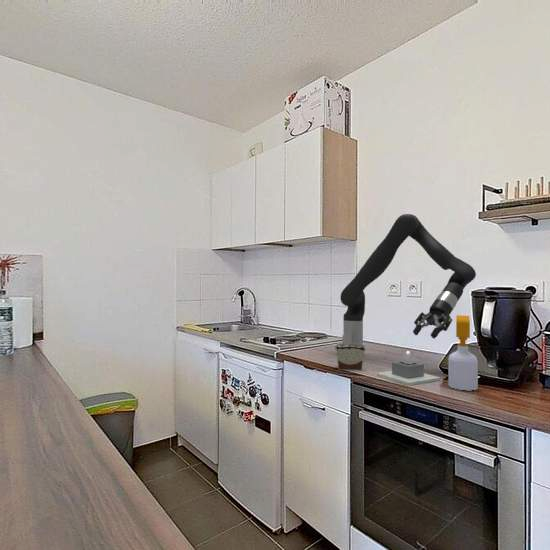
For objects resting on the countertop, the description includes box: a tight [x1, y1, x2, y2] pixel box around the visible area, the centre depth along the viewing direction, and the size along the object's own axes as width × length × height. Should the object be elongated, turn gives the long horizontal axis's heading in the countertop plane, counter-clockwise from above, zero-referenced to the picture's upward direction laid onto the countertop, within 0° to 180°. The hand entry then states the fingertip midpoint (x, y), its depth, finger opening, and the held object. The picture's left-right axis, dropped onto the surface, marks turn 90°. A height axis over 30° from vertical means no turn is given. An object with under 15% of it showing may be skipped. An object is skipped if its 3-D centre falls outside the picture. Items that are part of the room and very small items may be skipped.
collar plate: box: [376, 360, 441, 386], centre depth 145 cm, size 16×16×6 cm
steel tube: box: [402, 349, 415, 365], centre depth 145 cm, size 4×4×9 cm
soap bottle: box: [447, 314, 479, 392], centre depth 132 cm, size 9×9×25 cm
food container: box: [334, 343, 366, 372], centre depth 160 cm, size 12×6×10 cm, turn 84°
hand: (423, 335), depth 149 cm, fingers open, 8 cm apart
